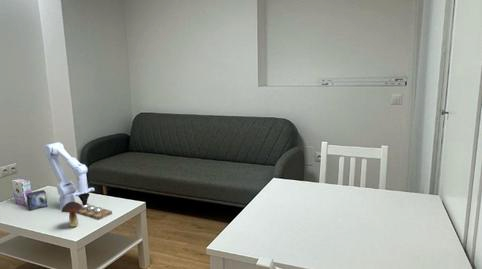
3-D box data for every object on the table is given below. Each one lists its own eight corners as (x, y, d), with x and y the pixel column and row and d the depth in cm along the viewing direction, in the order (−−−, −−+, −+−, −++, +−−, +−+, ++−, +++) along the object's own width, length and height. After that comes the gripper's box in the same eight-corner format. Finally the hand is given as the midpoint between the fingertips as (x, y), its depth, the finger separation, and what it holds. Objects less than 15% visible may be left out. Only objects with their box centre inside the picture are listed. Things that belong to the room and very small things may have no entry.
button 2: (93, 215, 217) (92, 209, 216) (99, 213, 220) (98, 206, 220) (97, 216, 215) (97, 210, 214) (103, 214, 218) (103, 207, 217)
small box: (29, 211, 227) (27, 195, 226) (27, 208, 232) (25, 193, 230) (47, 206, 234) (45, 191, 232) (45, 204, 239) (43, 189, 237)
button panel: (72, 212, 223) (71, 209, 223) (86, 206, 232) (85, 203, 231) (98, 219, 210) (98, 216, 210) (112, 214, 218) (111, 210, 218)
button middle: (86, 213, 220) (85, 207, 219) (92, 211, 224) (92, 204, 223) (91, 214, 218) (90, 208, 217) (97, 212, 222) (96, 206, 221)
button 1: (80, 211, 224) (79, 205, 223) (86, 209, 227) (85, 203, 226) (84, 212, 221) (83, 206, 221) (90, 210, 225) (90, 204, 224)
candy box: (34, 203, 241) (30, 180, 238) (25, 206, 236) (21, 183, 233) (23, 200, 248) (20, 177, 245) (14, 203, 243) (11, 180, 240)
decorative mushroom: (59, 229, 199) (56, 204, 196) (75, 221, 209) (72, 197, 206) (73, 232, 195) (70, 206, 192) (89, 224, 204) (86, 199, 202)
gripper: (75, 188, 213) (78, 209, 215) (96, 181, 225) (98, 202, 227) (68, 187, 217) (71, 207, 219) (89, 180, 229) (91, 200, 231)
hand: (84, 204), depth 223 cm, fingers closed, pressing on button 1
